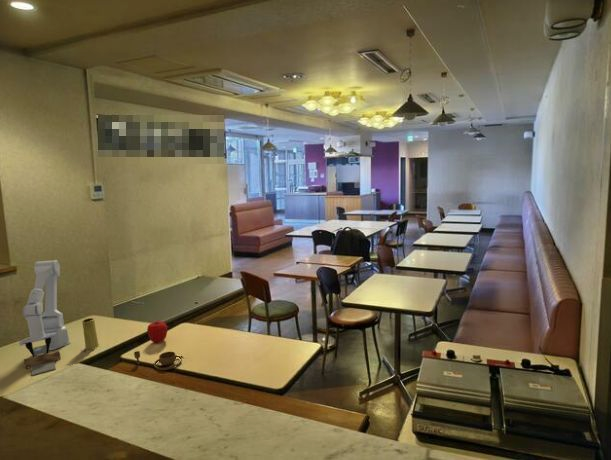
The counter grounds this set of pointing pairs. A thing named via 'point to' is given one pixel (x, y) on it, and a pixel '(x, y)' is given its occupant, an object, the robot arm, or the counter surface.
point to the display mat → (43, 368)
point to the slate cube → (39, 350)
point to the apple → (157, 331)
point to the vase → (90, 333)
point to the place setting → (162, 359)
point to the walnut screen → (42, 359)
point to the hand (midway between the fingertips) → (40, 355)
